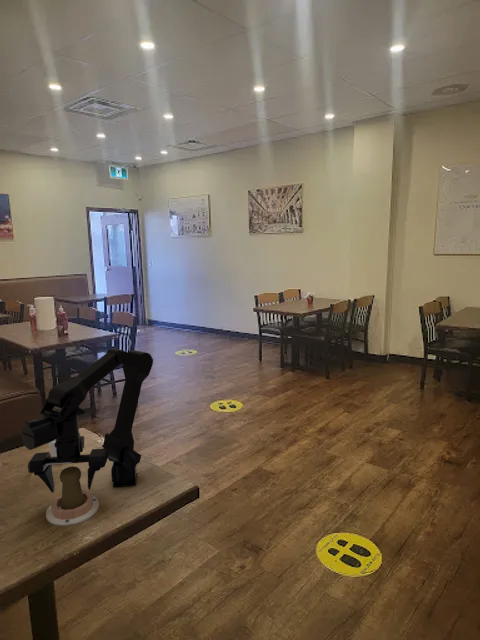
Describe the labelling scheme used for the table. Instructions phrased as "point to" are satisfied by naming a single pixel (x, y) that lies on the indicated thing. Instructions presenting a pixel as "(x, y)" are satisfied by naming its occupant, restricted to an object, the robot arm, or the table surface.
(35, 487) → the table surface
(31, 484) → the table surface
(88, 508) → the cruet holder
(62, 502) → the brown peg
